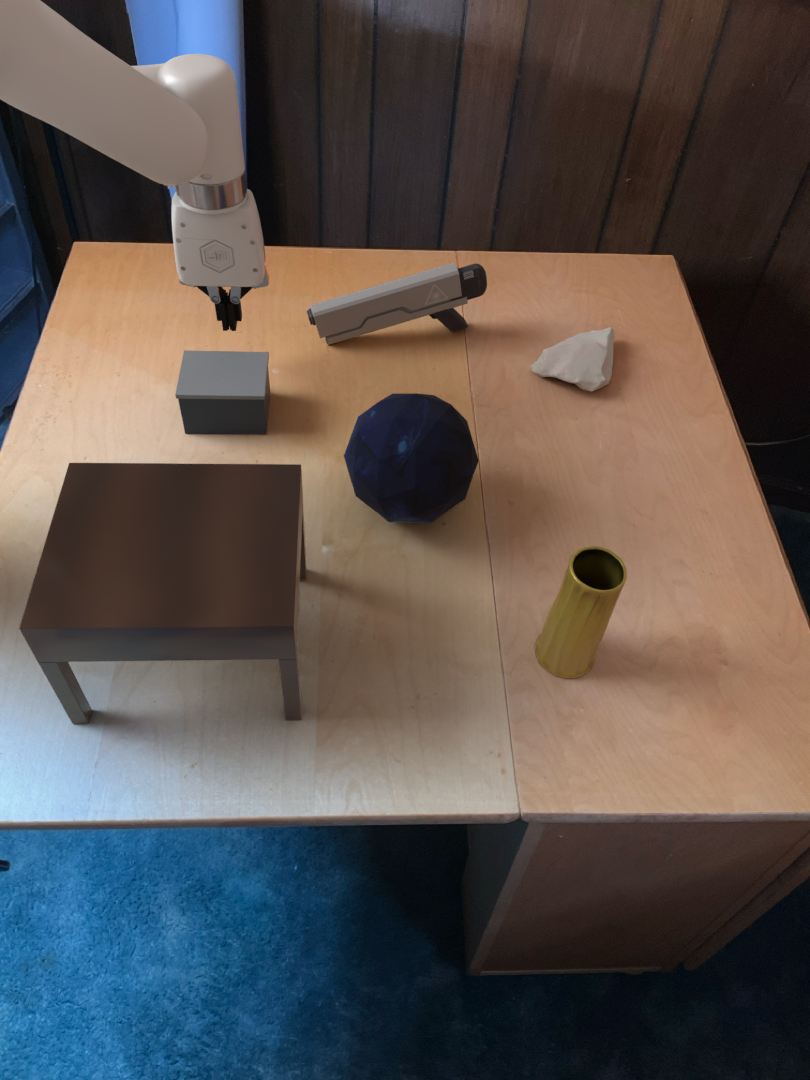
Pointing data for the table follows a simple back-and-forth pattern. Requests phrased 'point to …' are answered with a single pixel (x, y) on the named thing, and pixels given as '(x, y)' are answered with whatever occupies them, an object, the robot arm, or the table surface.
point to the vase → (581, 612)
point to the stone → (580, 359)
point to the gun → (400, 302)
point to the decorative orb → (411, 457)
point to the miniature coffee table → (170, 571)
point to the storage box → (224, 392)
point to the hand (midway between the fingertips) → (230, 324)
